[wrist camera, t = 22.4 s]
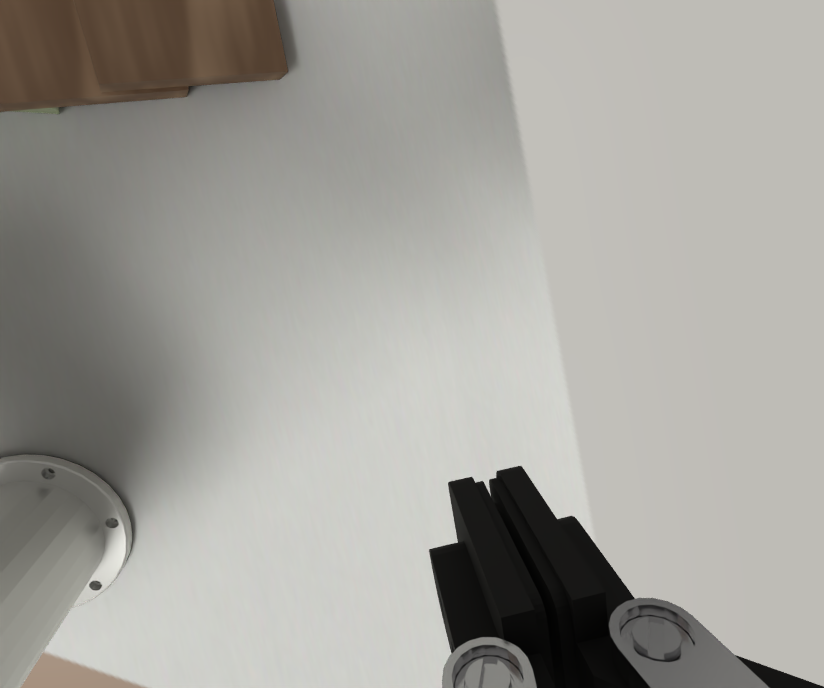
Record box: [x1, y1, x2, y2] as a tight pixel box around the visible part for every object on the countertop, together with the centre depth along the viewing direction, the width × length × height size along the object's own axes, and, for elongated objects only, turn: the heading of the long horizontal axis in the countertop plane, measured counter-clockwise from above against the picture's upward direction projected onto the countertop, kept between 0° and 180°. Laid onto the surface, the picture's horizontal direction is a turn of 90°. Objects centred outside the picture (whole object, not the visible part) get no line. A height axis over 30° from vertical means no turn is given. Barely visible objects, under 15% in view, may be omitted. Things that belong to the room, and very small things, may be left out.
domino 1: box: [0, 0, 189, 112], centre depth 29 cm, size 2×5×10 cm
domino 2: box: [73, 0, 288, 93], centre depth 29 cm, size 2×5×10 cm
